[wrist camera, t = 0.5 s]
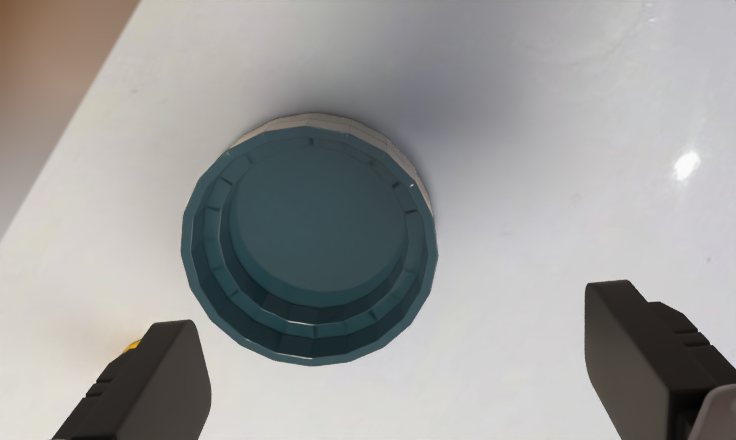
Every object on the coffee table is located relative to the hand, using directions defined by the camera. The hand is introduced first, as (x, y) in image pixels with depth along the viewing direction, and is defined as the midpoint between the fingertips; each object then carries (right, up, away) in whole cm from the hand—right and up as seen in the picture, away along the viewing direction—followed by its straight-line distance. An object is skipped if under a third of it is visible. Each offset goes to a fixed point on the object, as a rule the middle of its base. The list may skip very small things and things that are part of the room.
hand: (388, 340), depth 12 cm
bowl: (-4, +2, +26) cm, 26 cm away
